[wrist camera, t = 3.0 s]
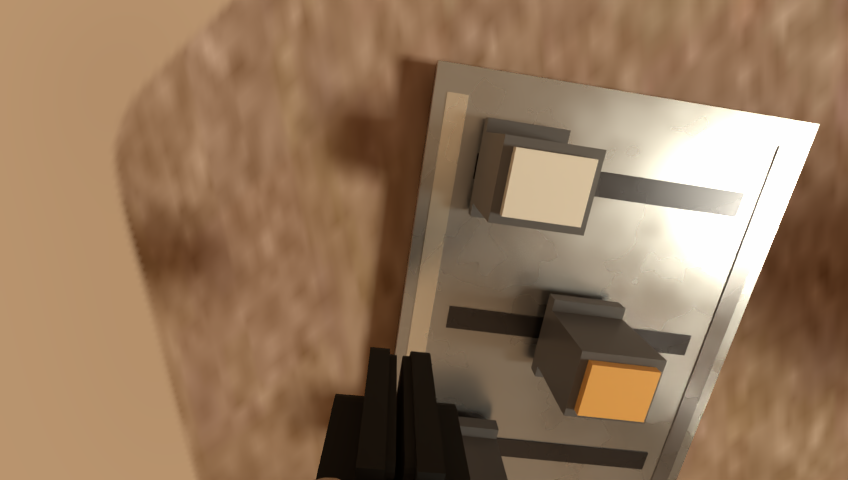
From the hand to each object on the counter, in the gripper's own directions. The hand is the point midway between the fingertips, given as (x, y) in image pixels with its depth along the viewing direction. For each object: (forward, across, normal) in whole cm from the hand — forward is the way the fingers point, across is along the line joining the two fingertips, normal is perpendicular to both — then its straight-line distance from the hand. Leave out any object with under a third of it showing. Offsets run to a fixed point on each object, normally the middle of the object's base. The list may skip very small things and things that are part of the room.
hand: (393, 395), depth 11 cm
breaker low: (+6, -4, -6) cm, 9 cm away
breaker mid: (+6, -8, 0) cm, 10 cm away
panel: (+7, -8, +1) cm, 11 cm away
